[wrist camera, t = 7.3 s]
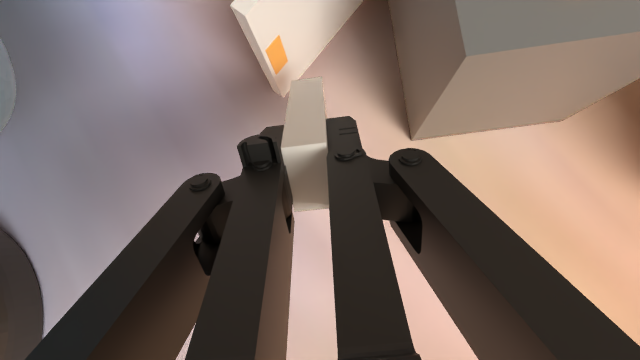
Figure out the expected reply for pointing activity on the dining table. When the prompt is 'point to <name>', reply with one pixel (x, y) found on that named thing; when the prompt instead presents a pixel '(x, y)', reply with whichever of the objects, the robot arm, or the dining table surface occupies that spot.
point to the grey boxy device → (510, 60)
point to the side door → (290, 33)
